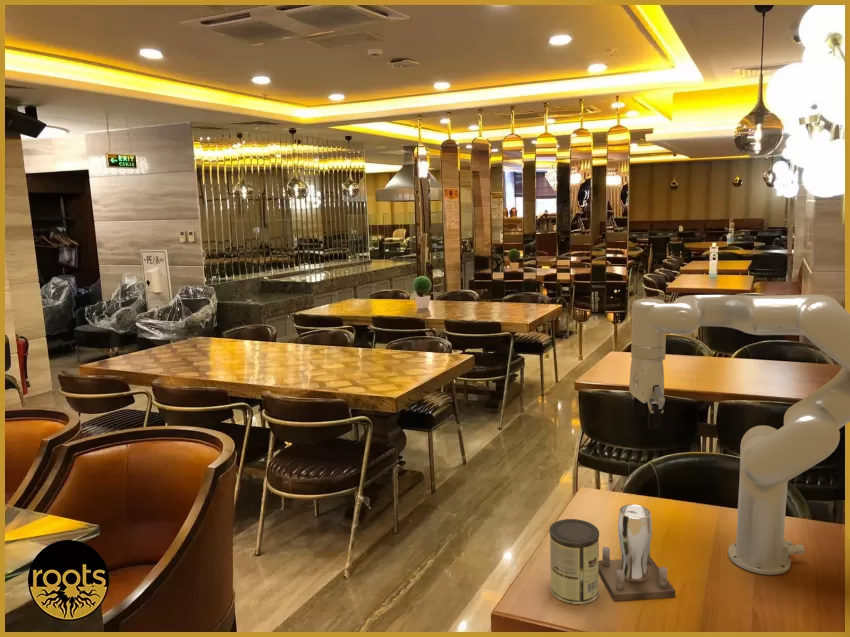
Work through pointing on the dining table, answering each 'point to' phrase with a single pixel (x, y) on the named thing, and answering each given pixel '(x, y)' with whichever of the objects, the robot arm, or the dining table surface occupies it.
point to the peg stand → (629, 590)
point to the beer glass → (634, 541)
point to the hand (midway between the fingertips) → (646, 421)
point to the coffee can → (574, 561)
